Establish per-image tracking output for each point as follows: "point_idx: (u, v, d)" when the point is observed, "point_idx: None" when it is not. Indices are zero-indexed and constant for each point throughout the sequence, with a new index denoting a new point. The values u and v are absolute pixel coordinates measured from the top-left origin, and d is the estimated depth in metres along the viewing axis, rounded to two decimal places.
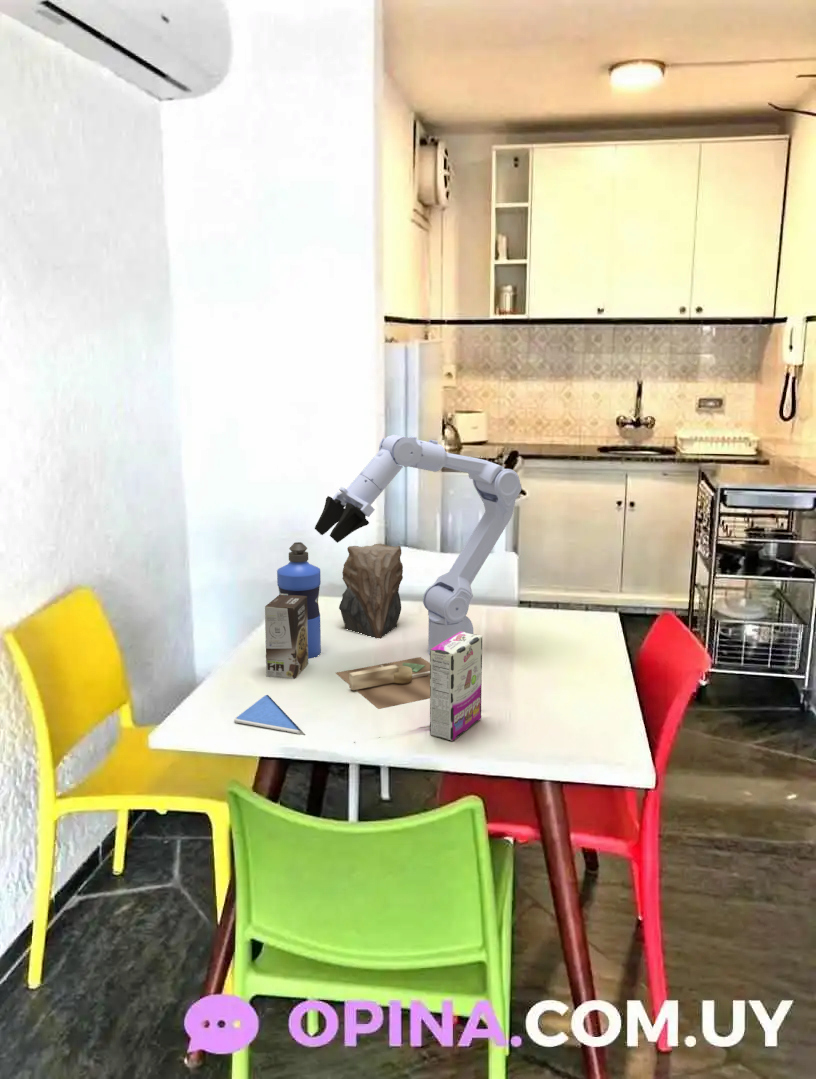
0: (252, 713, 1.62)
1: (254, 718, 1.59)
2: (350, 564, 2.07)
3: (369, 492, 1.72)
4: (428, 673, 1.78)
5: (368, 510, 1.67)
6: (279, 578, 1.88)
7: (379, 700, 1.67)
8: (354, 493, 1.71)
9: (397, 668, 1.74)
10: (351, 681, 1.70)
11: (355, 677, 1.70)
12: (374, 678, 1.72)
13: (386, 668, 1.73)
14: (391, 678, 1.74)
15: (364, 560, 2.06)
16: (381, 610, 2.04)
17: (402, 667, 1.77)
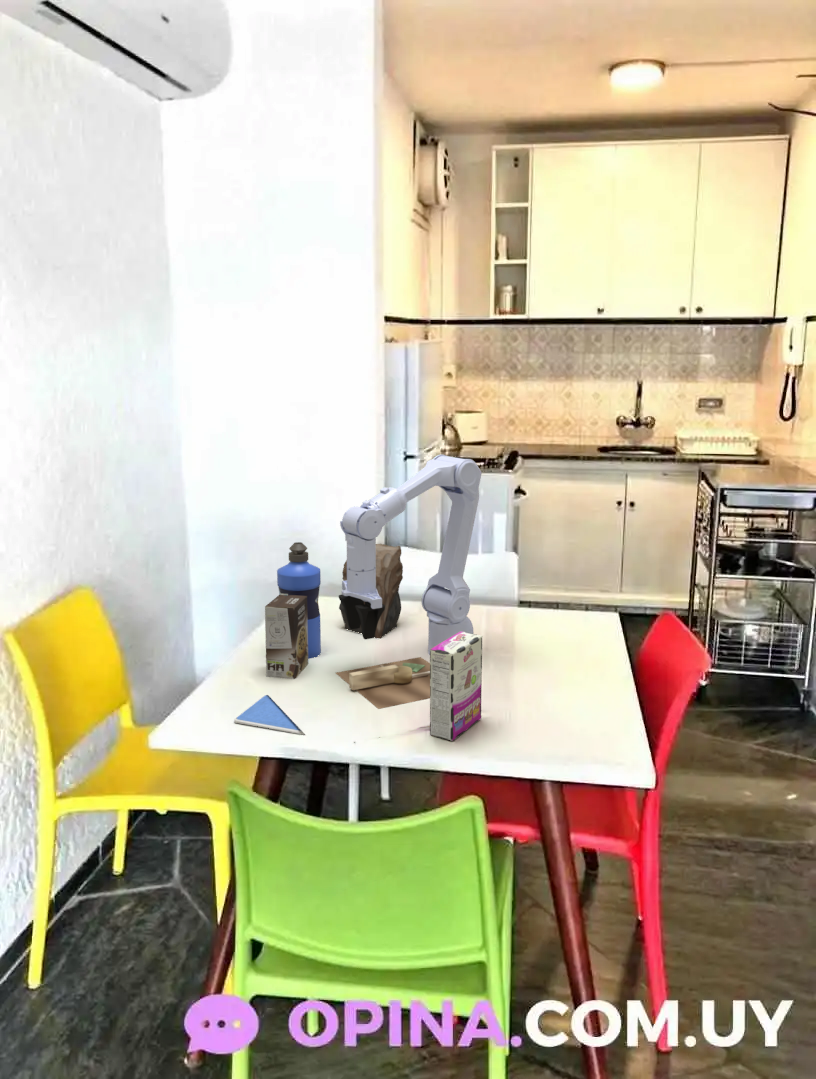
0: (252, 713, 1.62)
1: (254, 719, 1.59)
2: None
3: (366, 581, 1.71)
4: (428, 673, 1.78)
5: (377, 603, 1.68)
6: (279, 578, 1.88)
7: (379, 700, 1.67)
8: (355, 591, 1.71)
9: (397, 668, 1.74)
10: (351, 681, 1.70)
11: (355, 677, 1.70)
12: (374, 678, 1.72)
13: (386, 668, 1.73)
14: (391, 678, 1.74)
15: None
16: None
17: (402, 667, 1.77)
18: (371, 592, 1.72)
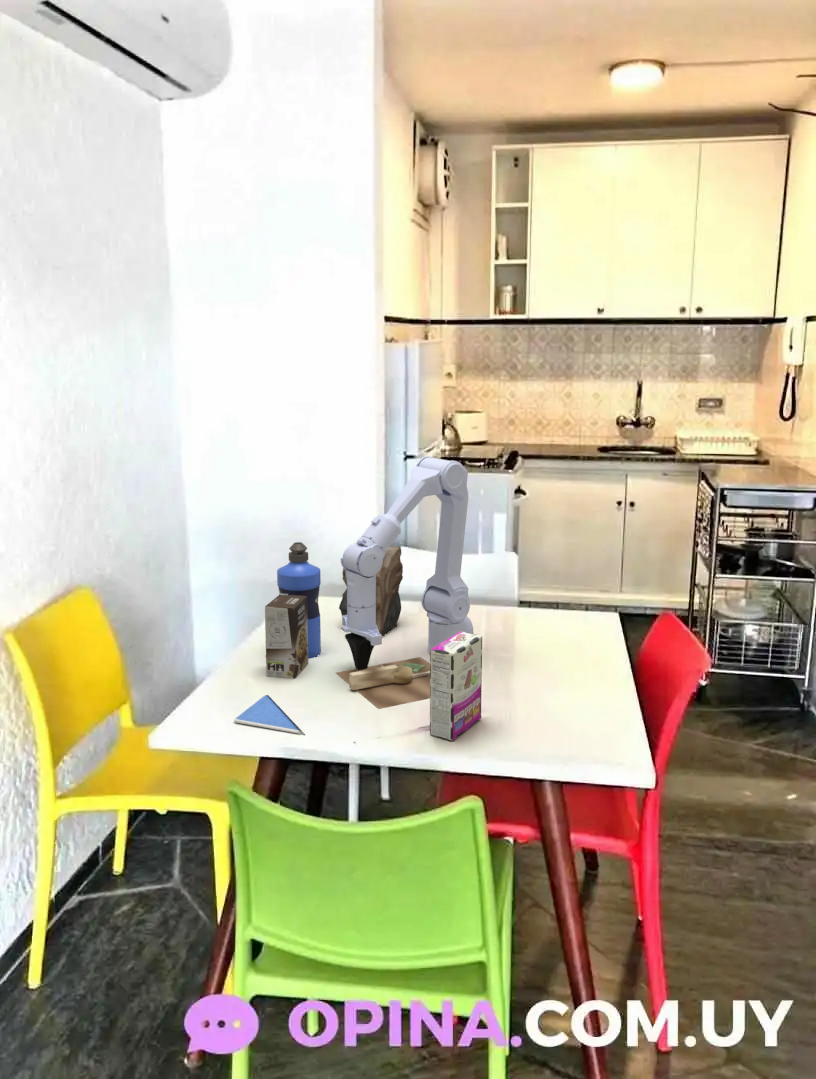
0: (252, 713, 1.62)
1: (254, 719, 1.59)
2: None
3: (366, 617, 1.73)
4: (428, 673, 1.78)
5: (377, 640, 1.70)
6: (279, 578, 1.88)
7: (379, 700, 1.67)
8: (356, 627, 1.73)
9: (397, 668, 1.74)
10: (351, 681, 1.70)
11: (355, 677, 1.70)
12: (374, 678, 1.72)
13: (386, 668, 1.73)
14: (391, 678, 1.74)
15: None
16: (381, 610, 2.04)
17: (402, 667, 1.77)
18: (371, 628, 1.74)
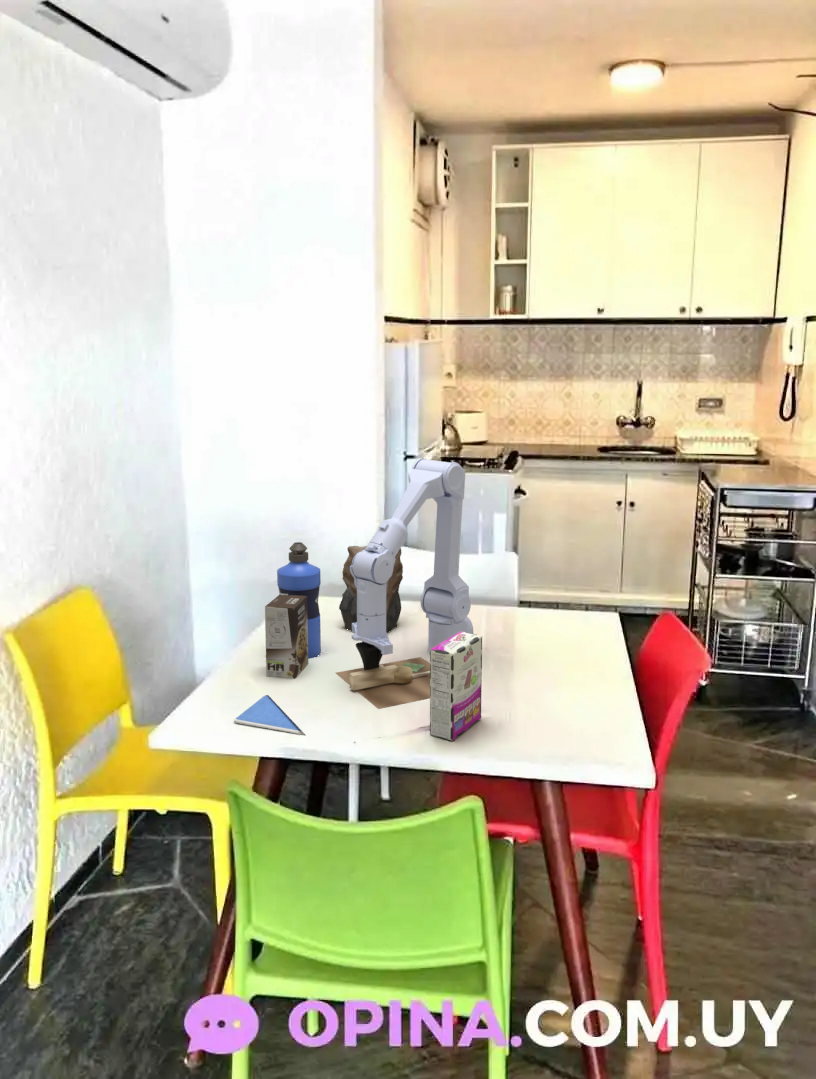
0: (252, 713, 1.62)
1: (254, 719, 1.59)
2: (351, 564, 2.07)
3: (376, 626, 1.69)
4: (428, 673, 1.79)
5: (387, 649, 1.66)
6: (279, 578, 1.88)
7: (379, 700, 1.67)
8: (366, 635, 1.69)
9: (397, 668, 1.74)
10: (352, 682, 1.70)
11: (355, 677, 1.70)
12: (374, 678, 1.72)
13: (386, 668, 1.73)
14: (391, 678, 1.74)
15: None
16: None
17: (402, 667, 1.77)
18: (381, 637, 1.70)
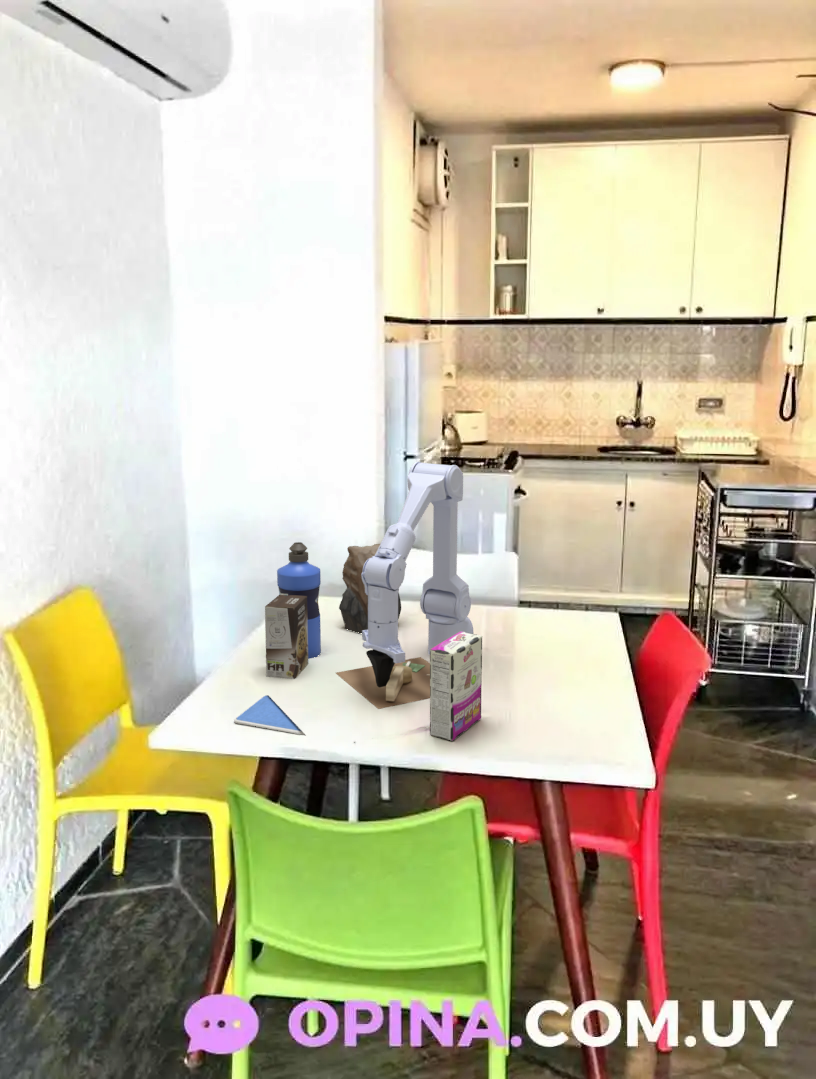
0: (252, 713, 1.62)
1: (254, 719, 1.59)
2: (350, 564, 2.07)
3: (388, 633, 1.65)
4: (408, 667, 1.82)
5: (400, 658, 1.62)
6: (279, 578, 1.88)
7: (379, 700, 1.67)
8: (377, 643, 1.65)
9: (403, 668, 1.74)
10: (391, 693, 1.65)
11: (394, 687, 1.65)
12: (399, 684, 1.69)
13: (399, 671, 1.72)
14: (402, 679, 1.73)
15: (364, 560, 2.06)
16: None
17: None
18: (393, 644, 1.66)
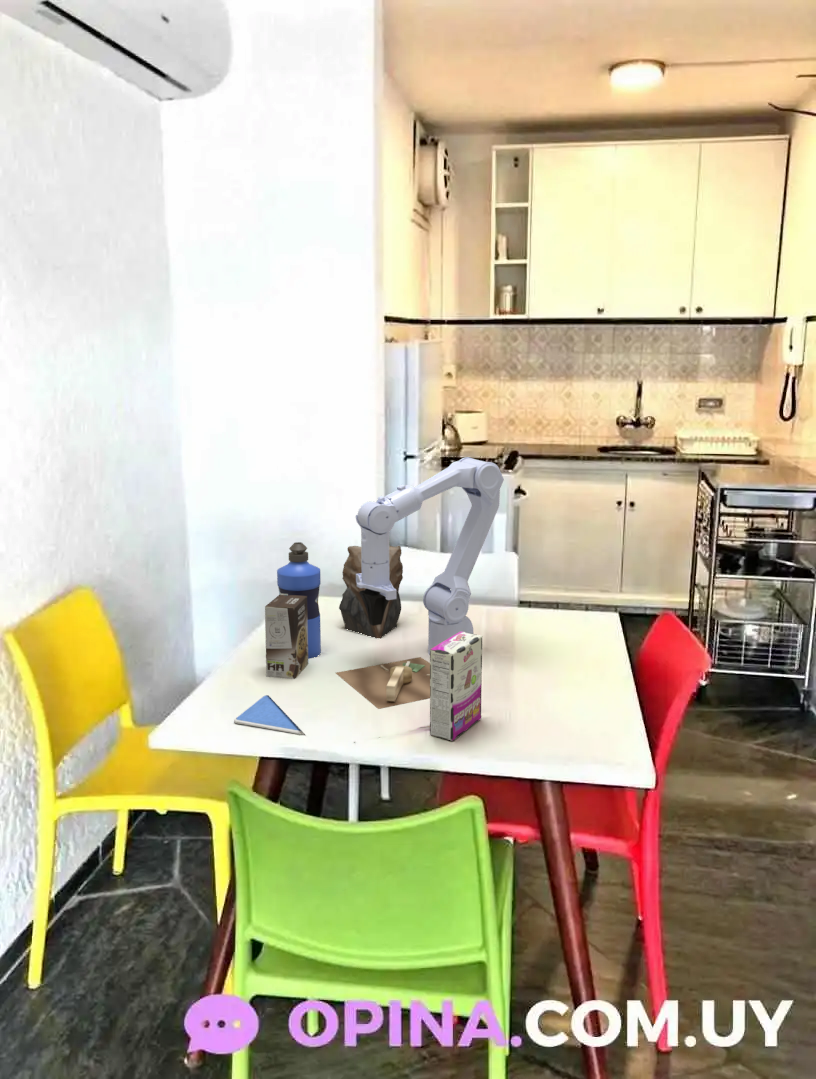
0: (252, 713, 1.61)
1: (254, 719, 1.59)
2: (351, 564, 2.07)
3: (380, 573, 1.77)
4: (407, 667, 1.82)
5: (392, 595, 1.74)
6: (279, 578, 1.88)
7: (379, 700, 1.67)
8: (370, 583, 1.77)
9: (403, 668, 1.74)
10: (392, 693, 1.65)
11: (395, 687, 1.65)
12: (399, 684, 1.69)
13: (400, 671, 1.72)
14: (402, 679, 1.73)
15: None
16: None
17: None
18: (385, 584, 1.78)
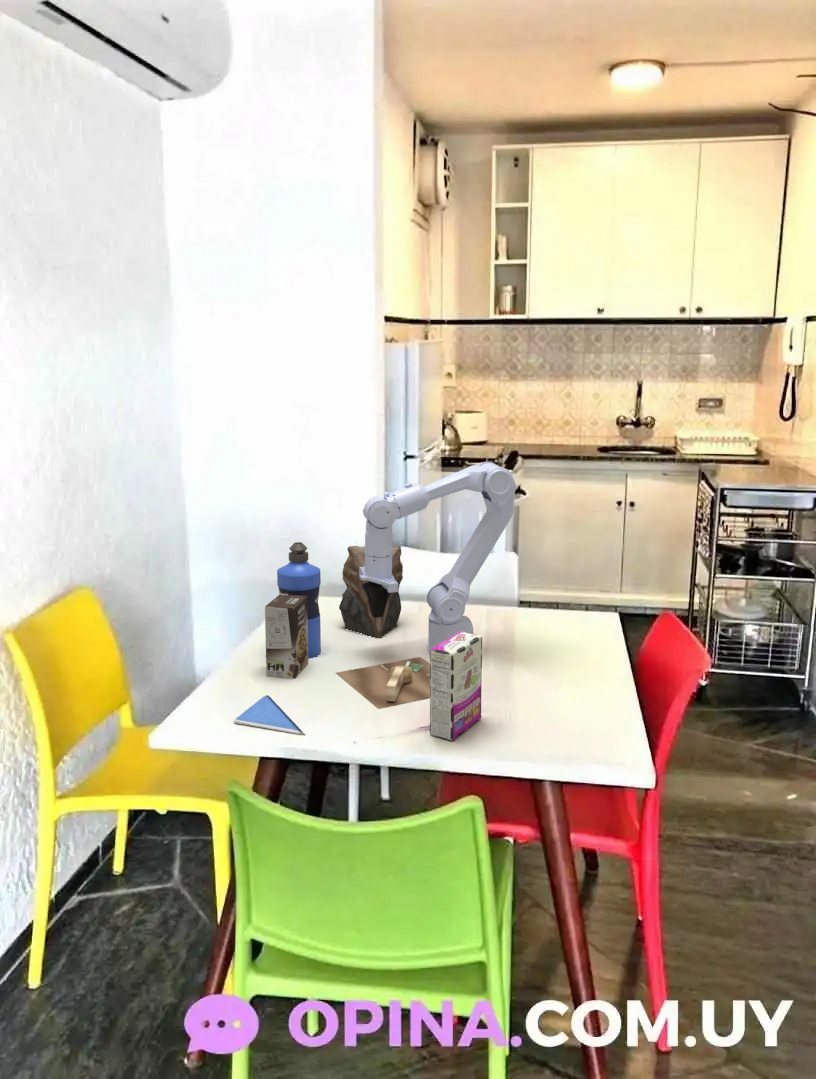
0: (252, 714, 1.61)
1: (254, 719, 1.59)
2: (350, 564, 2.07)
3: (383, 566, 1.82)
4: (407, 667, 1.82)
5: (393, 588, 1.79)
6: (279, 578, 1.88)
7: (379, 700, 1.67)
8: (373, 576, 1.82)
9: (403, 668, 1.74)
10: (392, 693, 1.65)
11: (395, 687, 1.65)
12: (399, 684, 1.69)
13: (400, 671, 1.72)
14: (402, 679, 1.73)
15: (364, 560, 2.06)
16: None
17: None
18: (387, 577, 1.83)
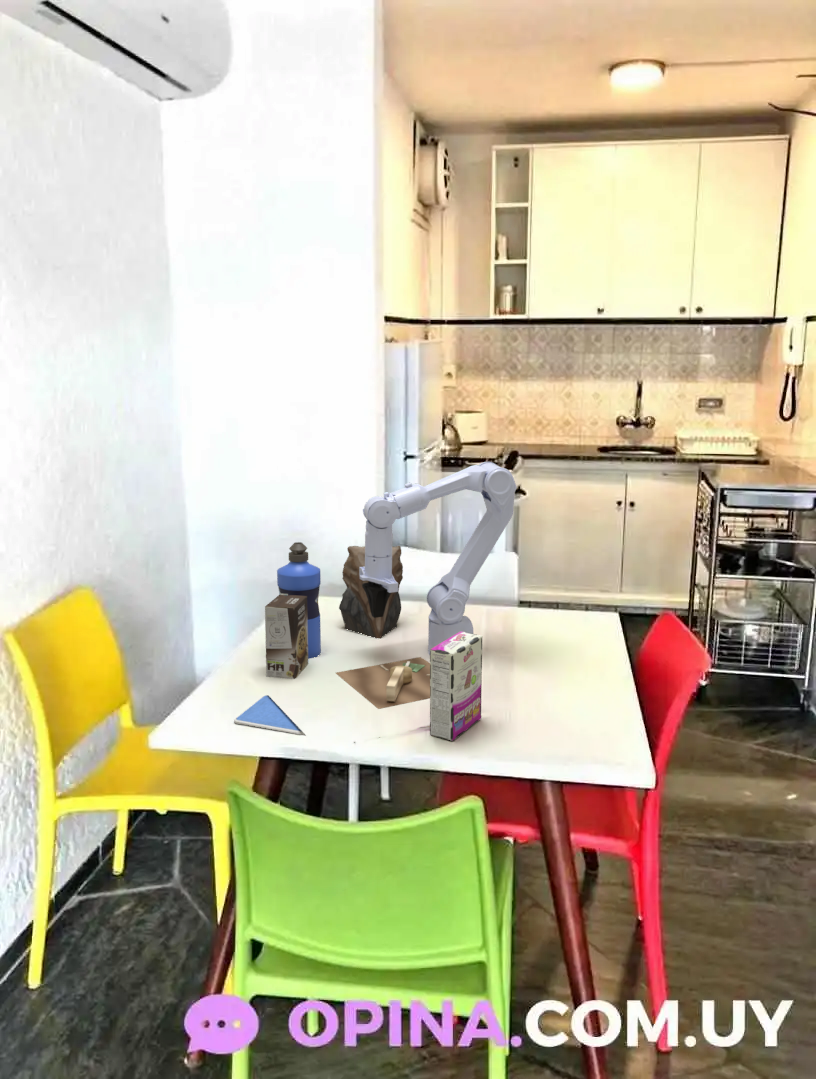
0: (252, 714, 1.61)
1: (254, 719, 1.59)
2: (351, 564, 2.07)
3: (383, 566, 1.82)
4: (407, 667, 1.82)
5: (393, 588, 1.79)
6: (279, 578, 1.88)
7: (379, 700, 1.67)
8: (373, 576, 1.82)
9: (403, 668, 1.74)
10: (392, 693, 1.65)
11: (395, 687, 1.65)
12: (399, 684, 1.69)
13: (400, 671, 1.72)
14: (402, 679, 1.73)
15: (364, 560, 2.06)
16: None
17: None
18: (387, 577, 1.83)
